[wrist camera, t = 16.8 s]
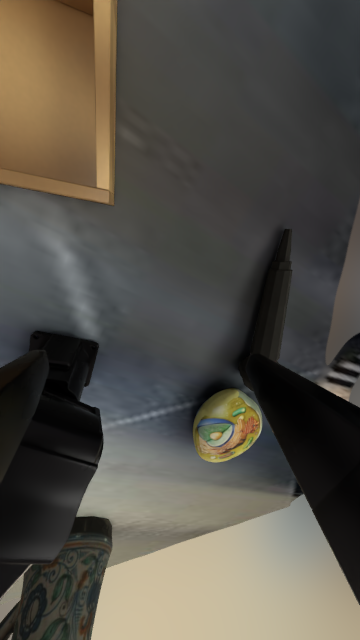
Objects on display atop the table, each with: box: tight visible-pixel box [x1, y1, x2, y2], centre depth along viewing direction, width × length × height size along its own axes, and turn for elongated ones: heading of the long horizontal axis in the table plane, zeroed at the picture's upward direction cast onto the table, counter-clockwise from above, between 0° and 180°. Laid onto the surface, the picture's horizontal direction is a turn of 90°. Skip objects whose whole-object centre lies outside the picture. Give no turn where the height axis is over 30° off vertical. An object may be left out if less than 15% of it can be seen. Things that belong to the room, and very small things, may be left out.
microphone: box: [239, 229, 292, 391], centre depth 23 cm, size 6×6×20 cm
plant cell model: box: [193, 388, 262, 462], centre depth 30 cm, size 11×8×15 cm
